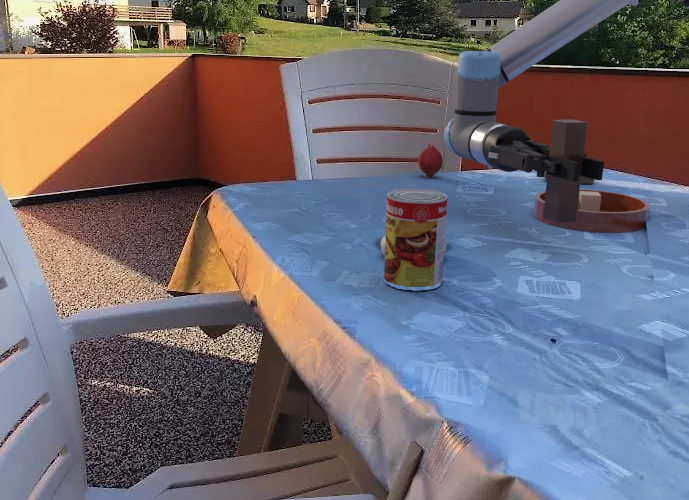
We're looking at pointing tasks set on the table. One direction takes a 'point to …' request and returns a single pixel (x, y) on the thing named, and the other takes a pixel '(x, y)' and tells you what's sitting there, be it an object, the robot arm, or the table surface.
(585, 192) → the block
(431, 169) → the onion
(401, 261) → the canned food
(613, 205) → the bowl
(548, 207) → the stick
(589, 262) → the table surface
